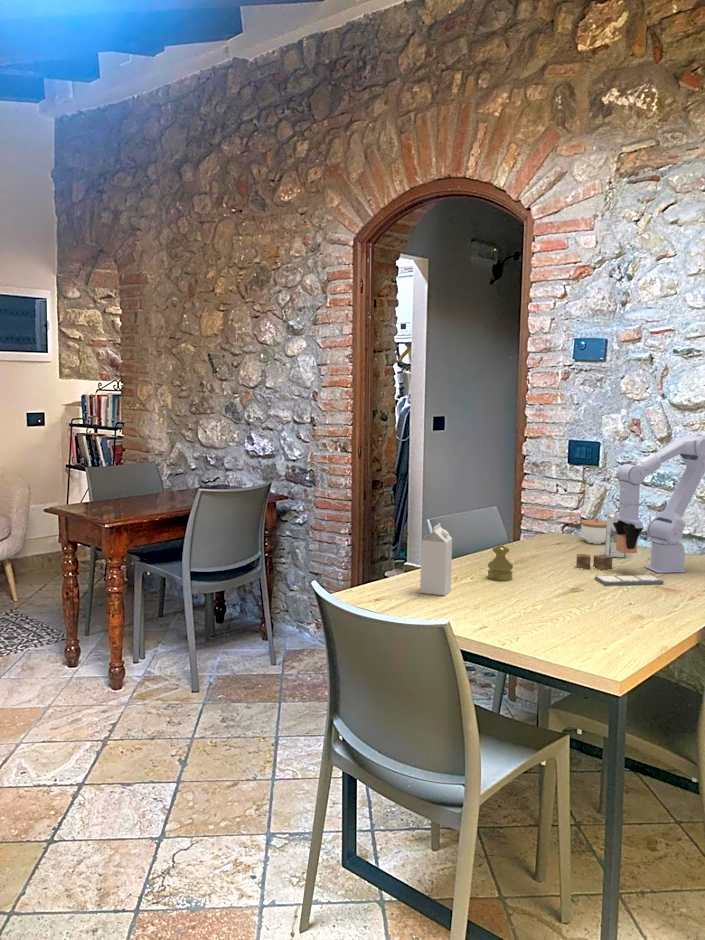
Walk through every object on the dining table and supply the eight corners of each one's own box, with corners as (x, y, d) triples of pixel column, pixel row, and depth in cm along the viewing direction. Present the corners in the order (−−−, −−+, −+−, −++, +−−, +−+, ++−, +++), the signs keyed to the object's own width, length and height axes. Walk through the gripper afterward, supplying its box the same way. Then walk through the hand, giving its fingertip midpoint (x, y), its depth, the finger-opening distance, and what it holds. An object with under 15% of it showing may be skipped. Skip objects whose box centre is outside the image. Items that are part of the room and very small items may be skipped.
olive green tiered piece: (514, 581, 228) (515, 548, 226) (489, 581, 228) (490, 548, 226) (510, 575, 235) (511, 543, 234) (485, 574, 235) (486, 542, 234)
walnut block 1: (589, 566, 247) (589, 554, 247) (590, 569, 243) (590, 557, 243) (576, 566, 248) (576, 553, 247) (576, 568, 244) (577, 556, 244)
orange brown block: (629, 549, 240) (630, 534, 240) (636, 553, 236) (637, 537, 235) (616, 550, 240) (616, 534, 239) (622, 553, 235) (623, 537, 235)
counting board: (651, 578, 233) (651, 574, 233) (663, 584, 226) (663, 580, 226) (594, 579, 230) (594, 576, 230) (605, 585, 224) (605, 582, 223)
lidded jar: (606, 540, 289) (607, 515, 288) (613, 546, 278) (614, 520, 277) (577, 539, 290) (578, 514, 289) (583, 545, 279) (584, 519, 278)
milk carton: (419, 593, 213) (421, 526, 211) (426, 587, 220) (428, 522, 218) (444, 596, 211) (446, 528, 209) (450, 589, 217) (452, 523, 215)
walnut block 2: (603, 566, 247) (603, 554, 247) (611, 569, 243) (612, 557, 243) (593, 567, 246) (593, 555, 245) (601, 570, 242) (602, 558, 241)
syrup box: (621, 554, 265) (623, 513, 263) (625, 558, 259) (628, 516, 257) (604, 554, 265) (606, 512, 264) (608, 557, 260) (610, 515, 258)
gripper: (605, 500, 243) (603, 542, 244) (628, 507, 228) (625, 552, 230) (627, 499, 243) (624, 541, 245) (650, 507, 229) (647, 551, 231)
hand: (626, 546), depth 237 cm, fingers closed on orange brown block, 4 cm apart
